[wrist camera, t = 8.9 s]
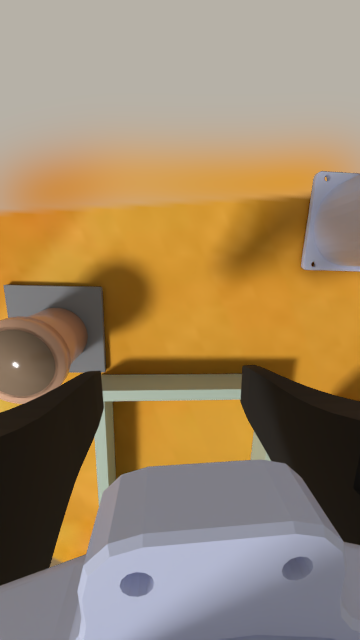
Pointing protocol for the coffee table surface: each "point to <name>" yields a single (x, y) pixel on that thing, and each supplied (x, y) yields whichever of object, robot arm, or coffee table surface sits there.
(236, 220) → the coffee table surface
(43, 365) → the terracotta pot
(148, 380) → the frame
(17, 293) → the slate pad
